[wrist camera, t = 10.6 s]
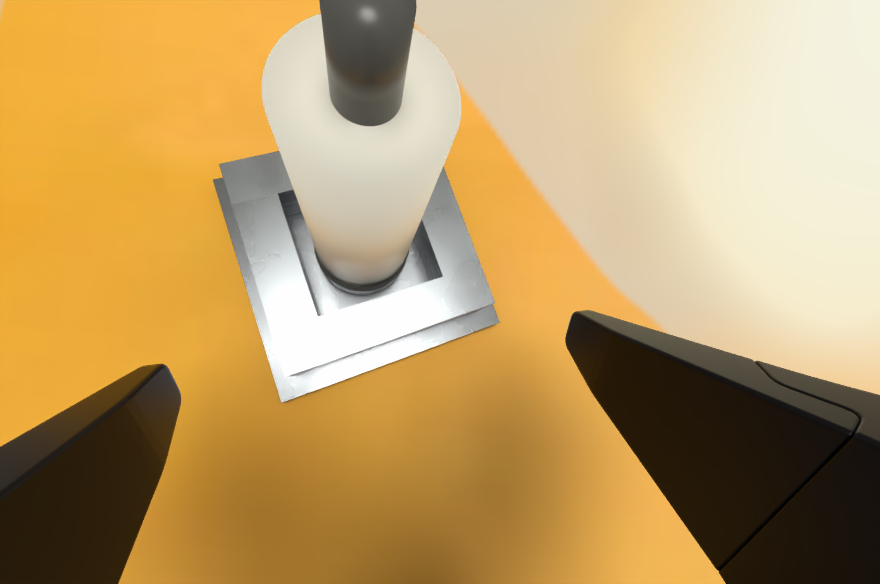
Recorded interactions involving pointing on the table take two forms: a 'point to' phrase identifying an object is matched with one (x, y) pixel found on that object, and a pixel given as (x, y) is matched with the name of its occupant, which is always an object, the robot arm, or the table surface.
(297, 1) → the table surface
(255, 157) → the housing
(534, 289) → the table surface
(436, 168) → the white bottle
